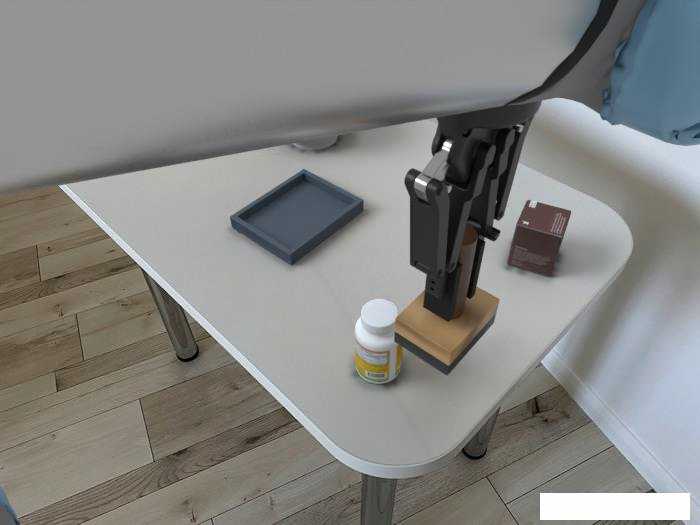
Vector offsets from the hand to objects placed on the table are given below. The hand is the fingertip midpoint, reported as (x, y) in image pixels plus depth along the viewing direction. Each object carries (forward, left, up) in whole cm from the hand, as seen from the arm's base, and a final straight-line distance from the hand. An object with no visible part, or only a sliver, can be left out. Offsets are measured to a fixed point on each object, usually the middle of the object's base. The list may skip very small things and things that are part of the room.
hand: (449, 300), depth 51 cm
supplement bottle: (0, +8, -18) cm, 19 cm away
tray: (+13, +34, -17) cm, 40 cm away
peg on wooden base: (0, 0, -5) cm, 5 cm away
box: (+28, +3, -18) cm, 33 cm away
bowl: (+31, +48, -18) cm, 60 cm away
